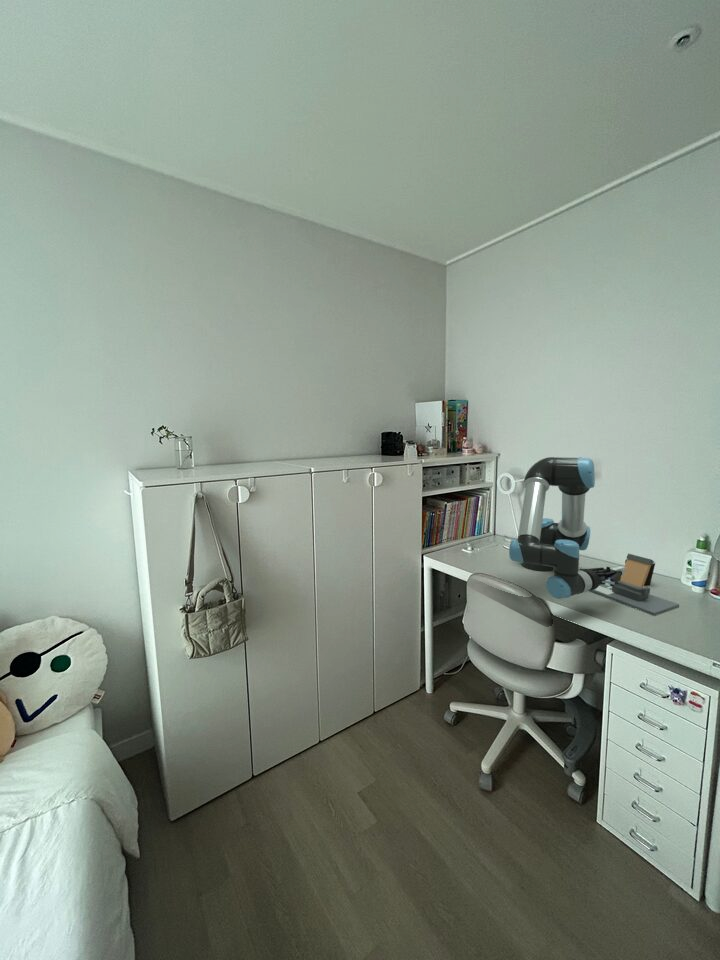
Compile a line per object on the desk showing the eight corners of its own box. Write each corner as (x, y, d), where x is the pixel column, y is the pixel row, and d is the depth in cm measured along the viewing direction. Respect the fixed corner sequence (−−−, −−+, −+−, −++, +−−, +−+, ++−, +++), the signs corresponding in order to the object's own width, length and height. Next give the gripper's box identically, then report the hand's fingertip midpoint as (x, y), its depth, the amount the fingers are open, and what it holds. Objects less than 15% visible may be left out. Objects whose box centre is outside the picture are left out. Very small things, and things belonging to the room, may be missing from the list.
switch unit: (584, 589, 161) (585, 575, 160) (608, 582, 168) (609, 569, 167) (654, 615, 138) (655, 599, 137) (679, 606, 144) (680, 591, 144)
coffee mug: (657, 587, 162) (659, 564, 161) (634, 586, 164) (636, 563, 163) (643, 577, 173) (645, 555, 172) (622, 576, 175) (623, 554, 174)
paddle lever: (616, 582, 155) (627, 553, 157) (619, 584, 156) (630, 554, 158) (640, 590, 147) (651, 559, 148) (643, 592, 148) (654, 561, 149)
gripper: (565, 584, 144) (605, 574, 155) (600, 597, 133) (640, 585, 143) (566, 565, 144) (606, 556, 154) (601, 576, 132) (642, 565, 142)
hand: (622, 570), depth 148 cm, fingers closed
